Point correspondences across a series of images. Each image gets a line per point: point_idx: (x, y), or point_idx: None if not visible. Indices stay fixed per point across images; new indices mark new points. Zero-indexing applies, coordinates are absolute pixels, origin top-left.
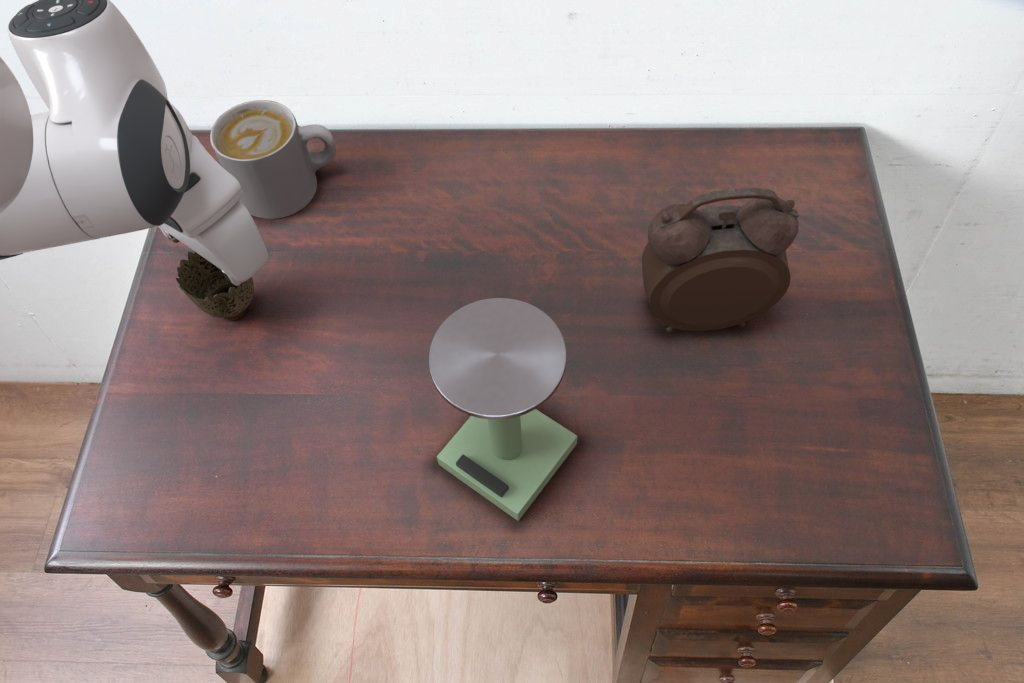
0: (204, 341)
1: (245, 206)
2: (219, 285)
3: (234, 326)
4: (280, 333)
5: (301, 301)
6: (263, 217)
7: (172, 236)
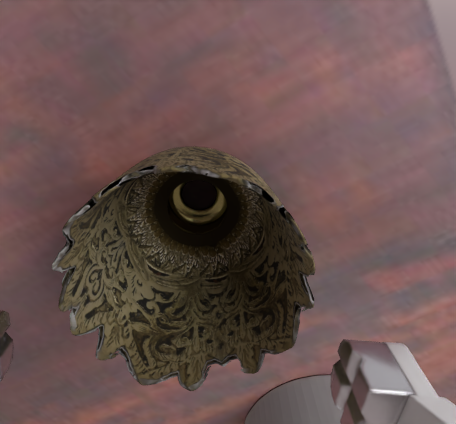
0: (203, 82)
1: None
2: (247, 230)
3: None
4: (60, 193)
5: None
6: (300, 381)
7: (358, 375)
